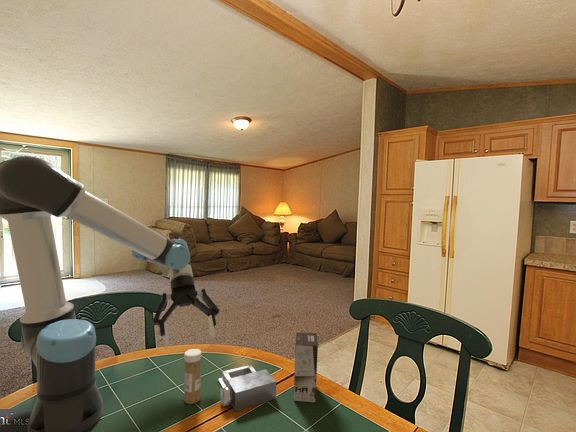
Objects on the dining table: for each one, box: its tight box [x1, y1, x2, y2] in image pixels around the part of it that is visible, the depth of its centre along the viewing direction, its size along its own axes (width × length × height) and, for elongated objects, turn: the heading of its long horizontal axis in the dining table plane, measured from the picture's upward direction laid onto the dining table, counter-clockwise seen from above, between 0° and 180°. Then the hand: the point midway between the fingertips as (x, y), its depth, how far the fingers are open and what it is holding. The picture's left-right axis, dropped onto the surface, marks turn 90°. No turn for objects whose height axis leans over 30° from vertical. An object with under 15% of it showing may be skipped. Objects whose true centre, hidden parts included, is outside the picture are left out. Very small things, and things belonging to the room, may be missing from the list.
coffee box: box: [293, 331, 319, 403], centre depth 91 cm, size 9×6×16 cm
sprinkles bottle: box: [183, 348, 202, 405], centre depth 86 cm, size 5×5×14 cm
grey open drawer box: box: [217, 364, 277, 412], centre depth 91 cm, size 14×16×5 cm
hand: (191, 341), depth 94 cm, fingers open, 13 cm apart
